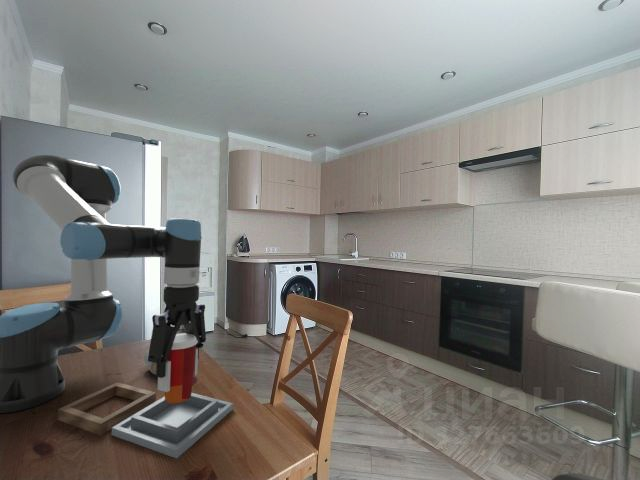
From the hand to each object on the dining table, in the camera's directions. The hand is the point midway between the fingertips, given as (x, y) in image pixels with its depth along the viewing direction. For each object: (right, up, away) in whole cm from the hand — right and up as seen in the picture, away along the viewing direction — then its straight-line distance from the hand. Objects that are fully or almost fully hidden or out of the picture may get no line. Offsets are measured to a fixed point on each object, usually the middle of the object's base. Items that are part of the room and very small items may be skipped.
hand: (178, 381), depth 69 cm
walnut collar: (-18, -9, +3) cm, 20 cm away
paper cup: (0, -4, 0) cm, 4 cm away
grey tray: (0, -9, 0) cm, 9 cm away
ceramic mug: (-17, -9, +26) cm, 32 cm away
